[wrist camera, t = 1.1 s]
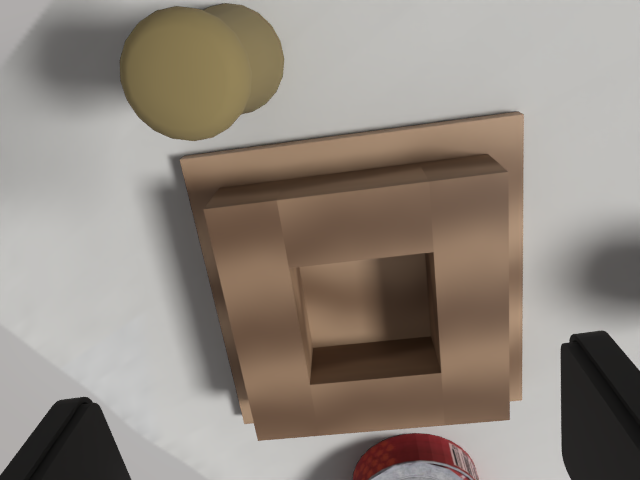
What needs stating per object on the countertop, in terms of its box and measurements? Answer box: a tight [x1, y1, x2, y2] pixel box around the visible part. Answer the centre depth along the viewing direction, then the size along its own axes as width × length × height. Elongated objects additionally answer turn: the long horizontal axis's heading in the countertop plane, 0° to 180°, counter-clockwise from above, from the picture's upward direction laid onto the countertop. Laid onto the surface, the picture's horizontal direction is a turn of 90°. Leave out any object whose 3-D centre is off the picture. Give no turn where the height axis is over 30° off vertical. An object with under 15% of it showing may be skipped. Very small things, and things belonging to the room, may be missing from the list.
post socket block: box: [180, 112, 524, 441], centre depth 33 cm, size 20×20×5 cm
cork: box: [120, 3, 284, 141], centre depth 25 cm, size 6×6×11 cm
